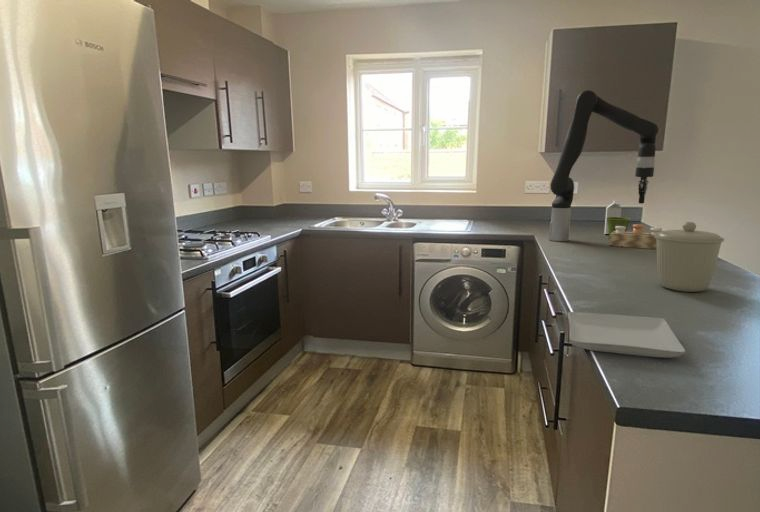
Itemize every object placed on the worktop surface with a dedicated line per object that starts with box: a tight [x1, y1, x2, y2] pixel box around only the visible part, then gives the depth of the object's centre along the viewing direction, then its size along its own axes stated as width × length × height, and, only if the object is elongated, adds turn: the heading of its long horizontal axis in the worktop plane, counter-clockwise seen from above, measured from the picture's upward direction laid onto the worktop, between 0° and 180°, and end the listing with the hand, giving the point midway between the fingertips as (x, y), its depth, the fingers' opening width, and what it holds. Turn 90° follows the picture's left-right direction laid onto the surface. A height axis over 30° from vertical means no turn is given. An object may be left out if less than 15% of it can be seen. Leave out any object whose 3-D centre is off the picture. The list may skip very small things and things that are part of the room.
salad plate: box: [567, 311, 686, 359], centre depth 102 cm, size 21×21×3 cm
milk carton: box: [604, 200, 622, 235], centre depth 257 cm, size 7×7×19 cm
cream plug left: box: [615, 226, 626, 234], centre depth 224 cm, size 5×5×8 cm
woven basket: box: [609, 231, 657, 250], centre depth 221 cm, size 22×10×6 cm, turn 55°
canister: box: [654, 221, 725, 293], centre depth 143 cm, size 18×18×21 cm
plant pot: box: [605, 216, 632, 239], centre depth 241 cm, size 12×12×11 cm
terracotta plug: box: [632, 223, 644, 235], centre depth 220 cm, size 5×5×8 cm
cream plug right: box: [649, 227, 663, 235], centre depth 216 cm, size 5×5×8 cm
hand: (641, 203), depth 220 cm, fingers closed
